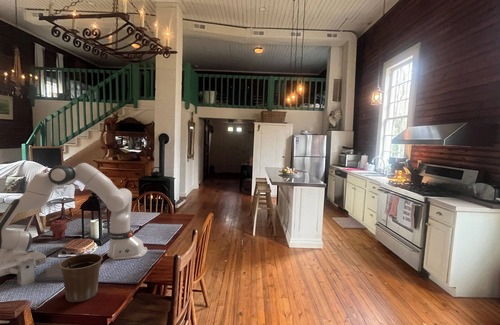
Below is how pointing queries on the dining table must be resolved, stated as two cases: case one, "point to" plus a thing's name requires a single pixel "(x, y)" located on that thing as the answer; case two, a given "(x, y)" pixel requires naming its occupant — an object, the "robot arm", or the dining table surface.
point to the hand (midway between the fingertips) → (26, 269)
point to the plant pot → (81, 276)
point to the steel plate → (51, 274)
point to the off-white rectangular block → (25, 270)
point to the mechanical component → (58, 229)
